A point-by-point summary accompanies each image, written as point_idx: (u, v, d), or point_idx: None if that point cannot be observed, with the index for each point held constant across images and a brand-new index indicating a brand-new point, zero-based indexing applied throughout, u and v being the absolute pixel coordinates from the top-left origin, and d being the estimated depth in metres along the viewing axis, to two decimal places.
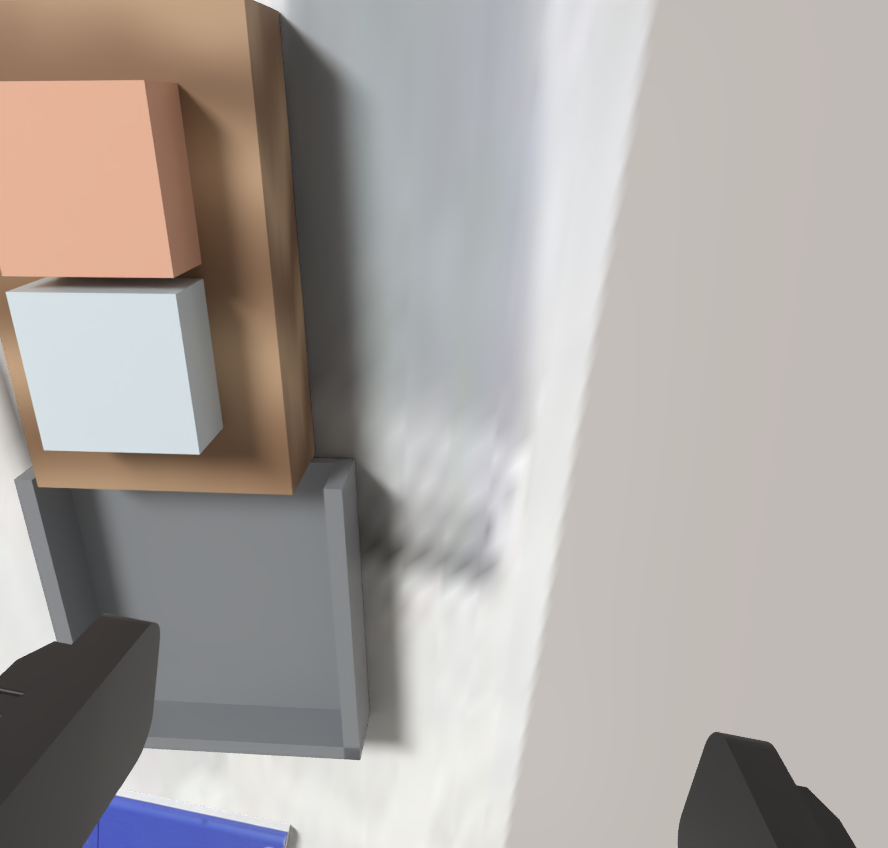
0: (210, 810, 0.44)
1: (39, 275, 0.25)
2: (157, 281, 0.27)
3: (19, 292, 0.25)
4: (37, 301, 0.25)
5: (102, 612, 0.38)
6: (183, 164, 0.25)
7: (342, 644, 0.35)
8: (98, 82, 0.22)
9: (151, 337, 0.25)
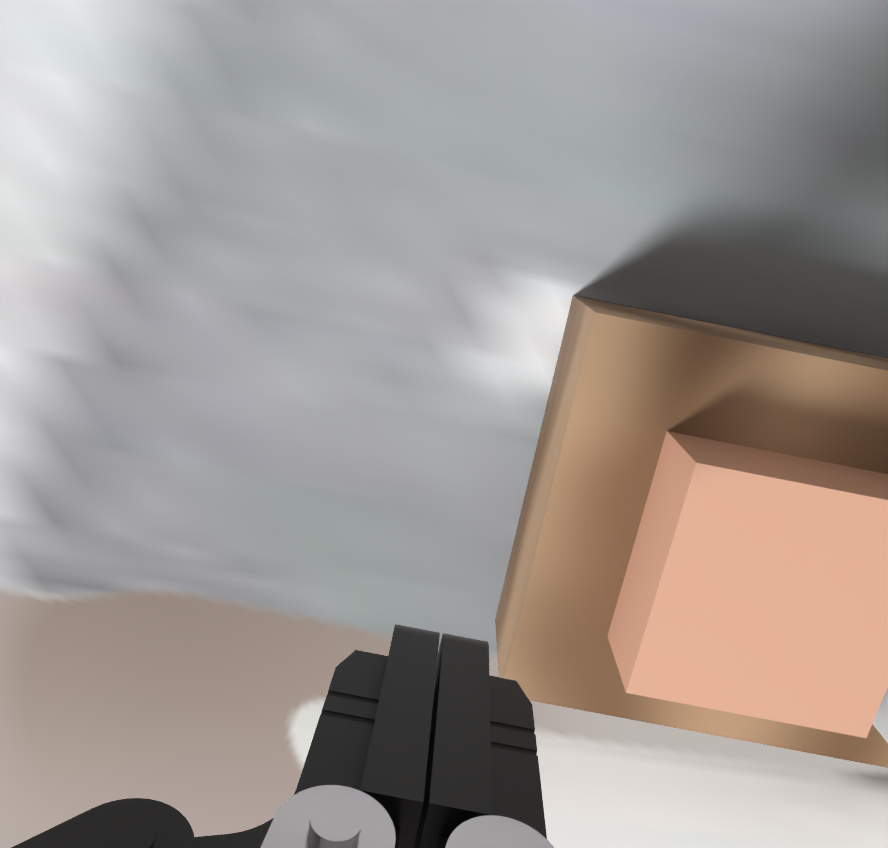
0: None
1: (881, 692, 0.18)
2: None
3: None
4: None
5: None
6: (770, 455, 0.18)
7: None
8: (680, 522, 0.17)
9: None
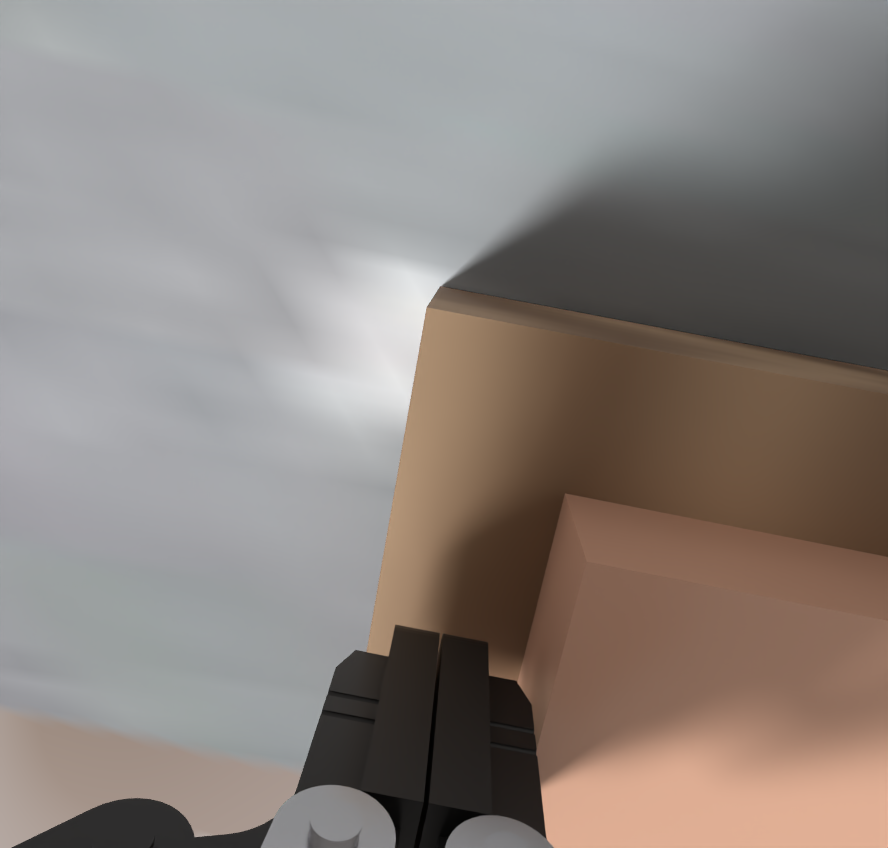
0: None
1: None
2: None
3: None
4: None
5: None
6: (727, 533, 0.11)
7: None
8: (565, 659, 0.10)
9: None
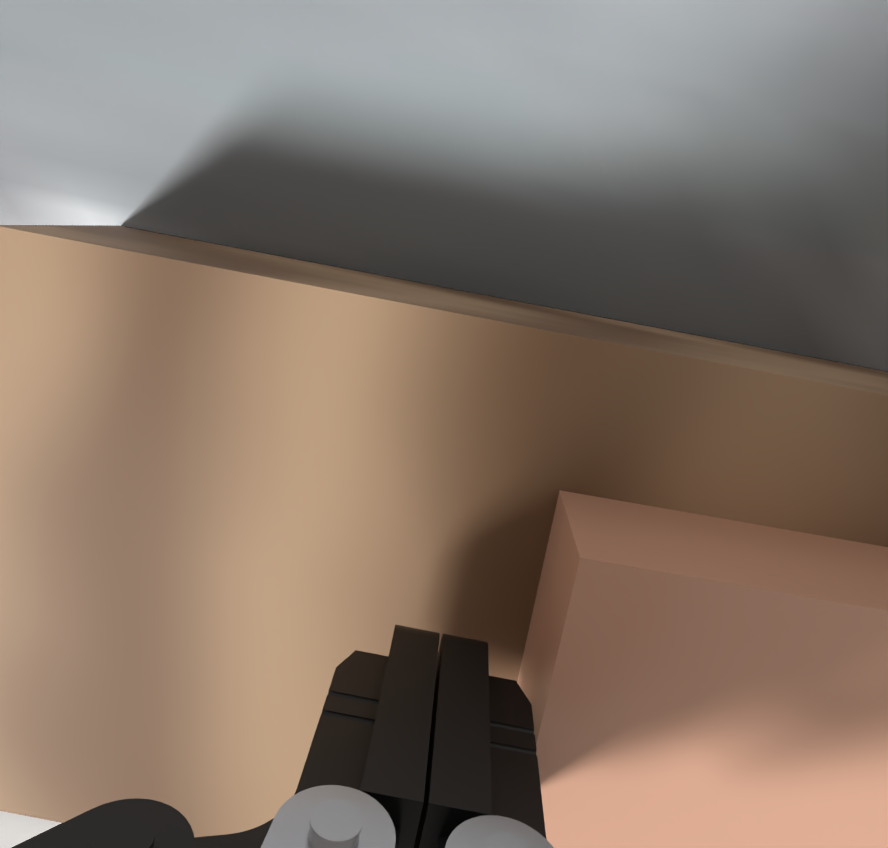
0: None
1: None
2: None
3: None
4: None
5: None
6: (722, 526, 0.11)
7: None
8: (561, 655, 0.10)
9: None
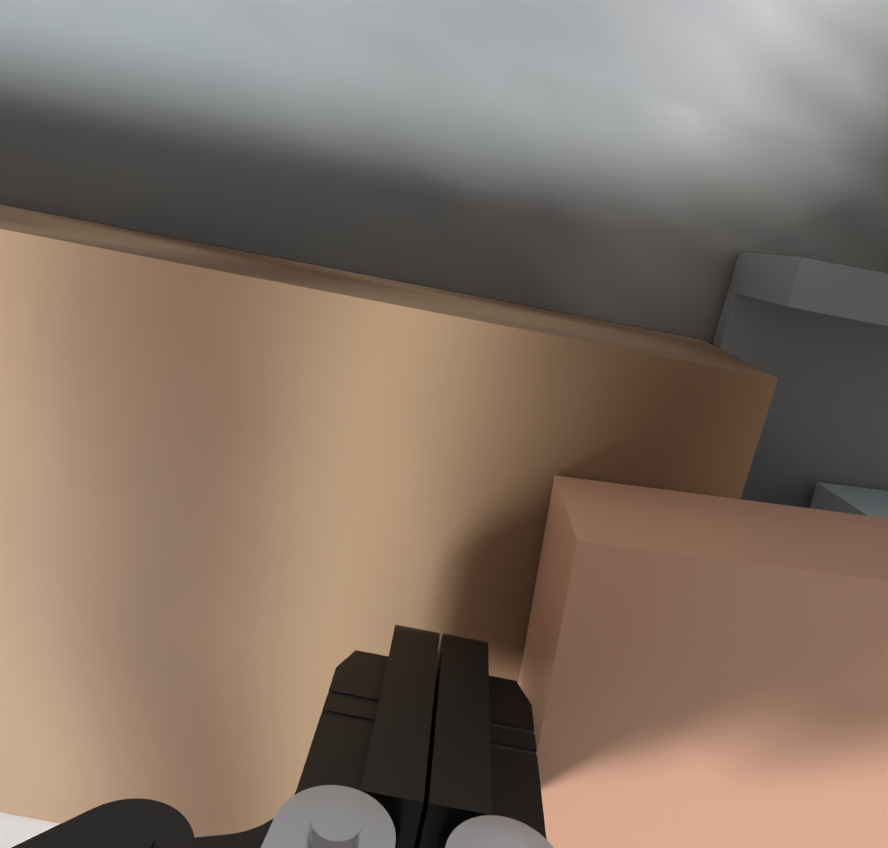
0: None
1: None
2: None
3: None
4: None
5: None
6: (720, 504, 0.11)
7: None
8: (562, 640, 0.10)
9: None
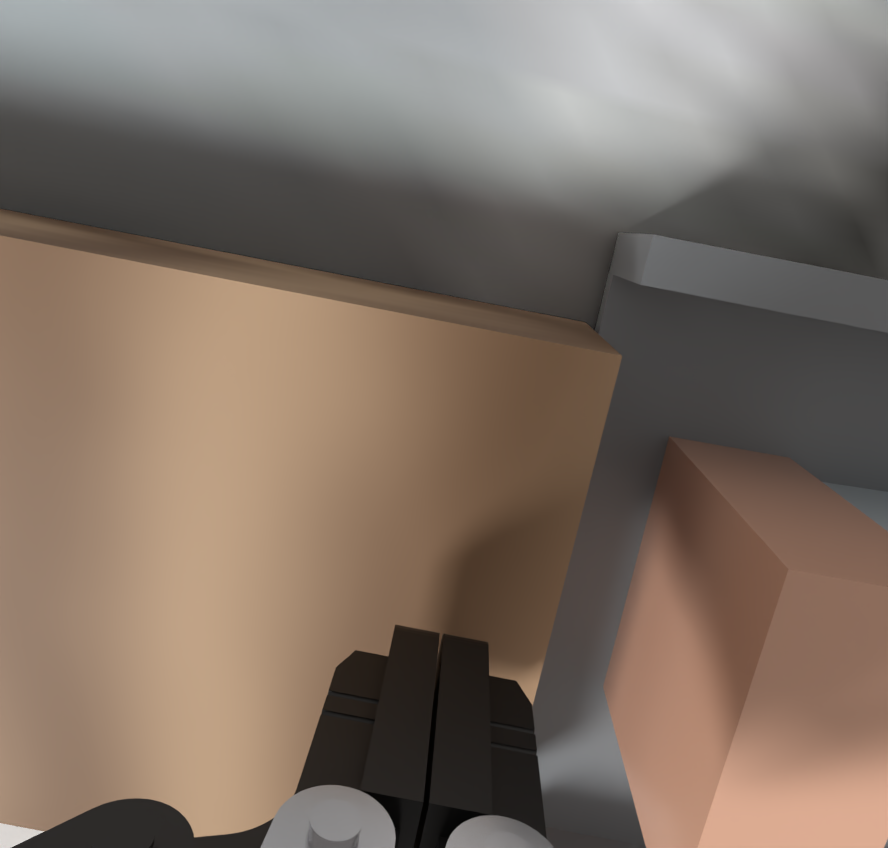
0: None
1: None
2: None
3: None
4: None
5: None
6: (747, 501, 0.12)
7: None
8: None
9: None
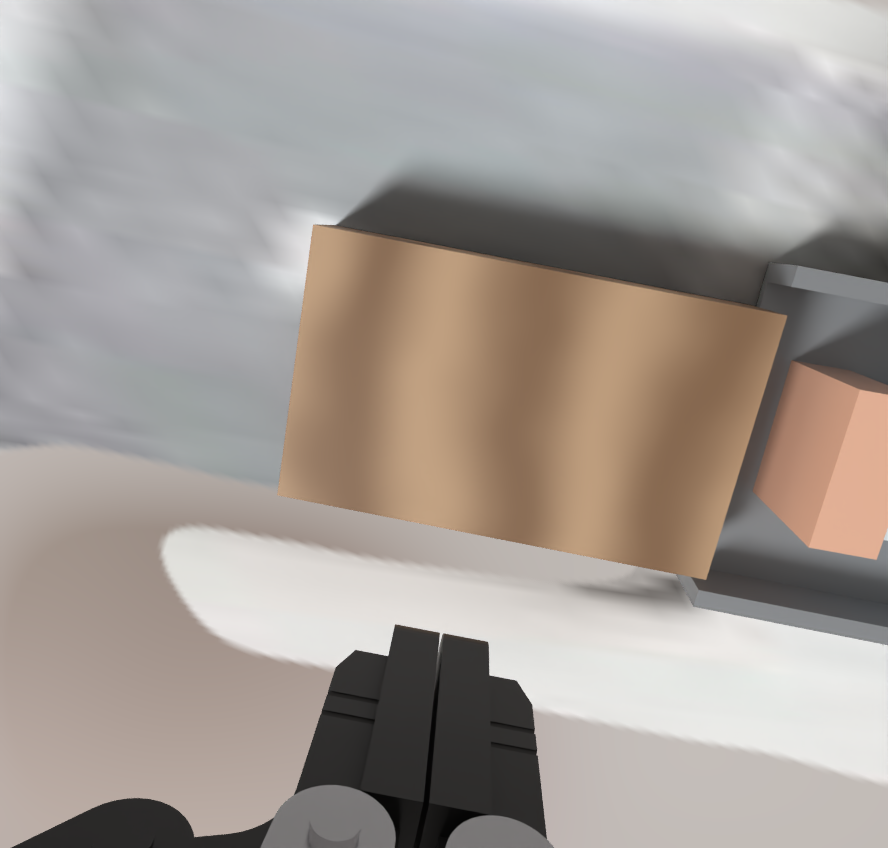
0: None
1: None
2: None
3: None
4: None
5: (878, 598, 0.34)
6: (837, 377, 0.28)
7: None
8: None
9: None
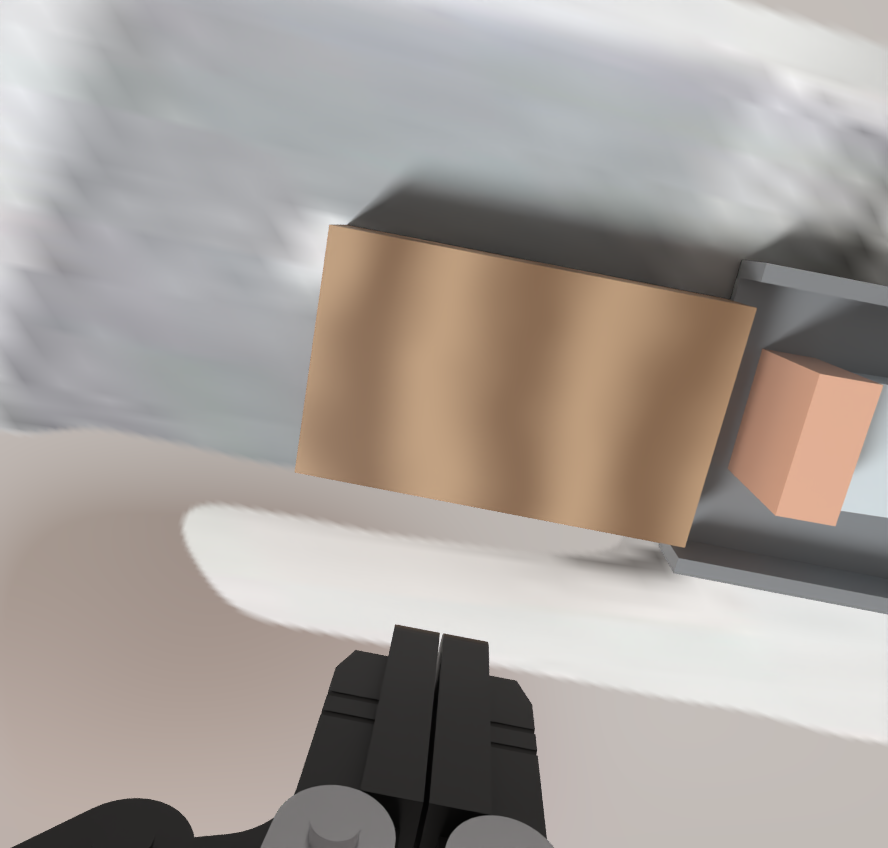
0: None
1: None
2: None
3: None
4: None
5: (841, 566, 0.37)
6: (802, 363, 0.31)
7: None
8: (871, 419, 0.29)
9: None
